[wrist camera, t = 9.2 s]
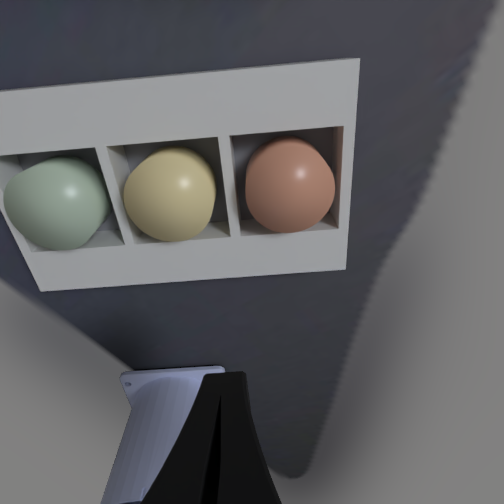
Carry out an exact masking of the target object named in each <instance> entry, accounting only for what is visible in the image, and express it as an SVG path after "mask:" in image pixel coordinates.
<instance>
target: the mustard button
mask: <svg viewBox="0 0 504 504" xmlns="http://www.w3.org/2000/svg"><path fill="white" fill-rule="evenodd" d="M216 193H217V181H216V177H215V174H214V171H213V169H212V167H211V166H210V164H209V163H208V162H207V161H206V160H205V159H204V158H203V157H202V156H201V155H200V154H198V153H197V152H195V151H193V150H191V149H189V148H186V147H182V146H165V147H162V148H159V149H157V150H155V151H153V152H152V153H151V154H150V155H148V156H147V157H146V158H145V159H144V160H143V161H142V162H141V163H140V164H139V165H138V166H137V167H136V168H135V169H134V170H133V172H132V173H131V174H130V175H129V177H128V179H127V181H126V184H125V187H124V204H125V208H126V210H127V213H128V215H129V217H130V218H131V220H132V221H133V222H134V224H135V225H136V226H137V227H138V228H139V229H140V230H142V231H143V232H144V233H146V234H148V235H149V236H151V237H153V238H156V239H159V240H162V241H169V242H179V241H184V240H188V239H190V238H193V237H194V236H196V235H198V234H199V233H200V232H201V231H202V230H203V229H204V228H205V227H206V226H207V224H208V222H209V221H210V218H211V215H212V211H213V207H214V202H215V198H216Z"/></svg>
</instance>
